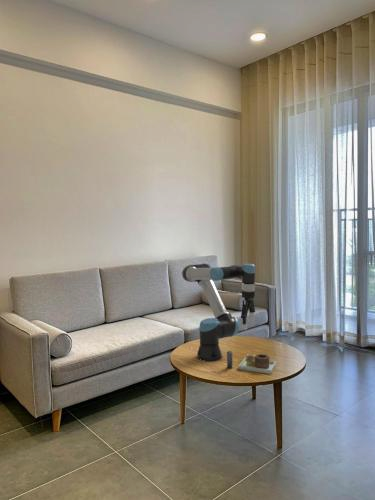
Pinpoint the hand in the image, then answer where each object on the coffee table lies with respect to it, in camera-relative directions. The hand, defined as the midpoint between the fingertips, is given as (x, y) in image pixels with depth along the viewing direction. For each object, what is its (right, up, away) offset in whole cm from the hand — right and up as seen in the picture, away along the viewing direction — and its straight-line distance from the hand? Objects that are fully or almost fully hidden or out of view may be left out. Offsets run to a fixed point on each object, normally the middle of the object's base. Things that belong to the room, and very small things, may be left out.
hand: (248, 326), depth 224 cm
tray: (+4, -22, -6) cm, 23 cm away
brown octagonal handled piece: (+5, -22, -6) cm, 23 cm away
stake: (-11, -22, -6) cm, 26 cm away
